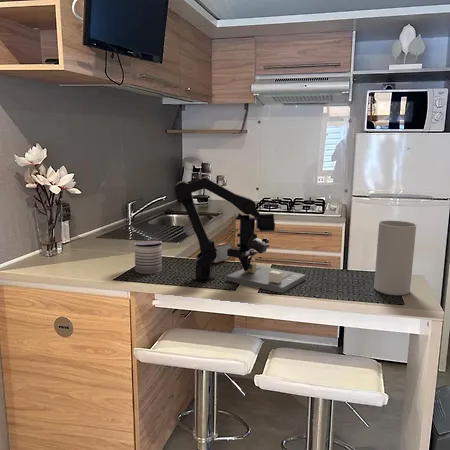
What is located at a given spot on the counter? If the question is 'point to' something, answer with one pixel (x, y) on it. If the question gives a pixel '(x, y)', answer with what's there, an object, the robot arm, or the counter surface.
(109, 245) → the counter surface
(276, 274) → the block
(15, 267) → the counter surface
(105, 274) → the counter surface
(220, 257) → the tin
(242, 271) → the fader panel
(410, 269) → the cylinder vase
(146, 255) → the can
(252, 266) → the brass fader
